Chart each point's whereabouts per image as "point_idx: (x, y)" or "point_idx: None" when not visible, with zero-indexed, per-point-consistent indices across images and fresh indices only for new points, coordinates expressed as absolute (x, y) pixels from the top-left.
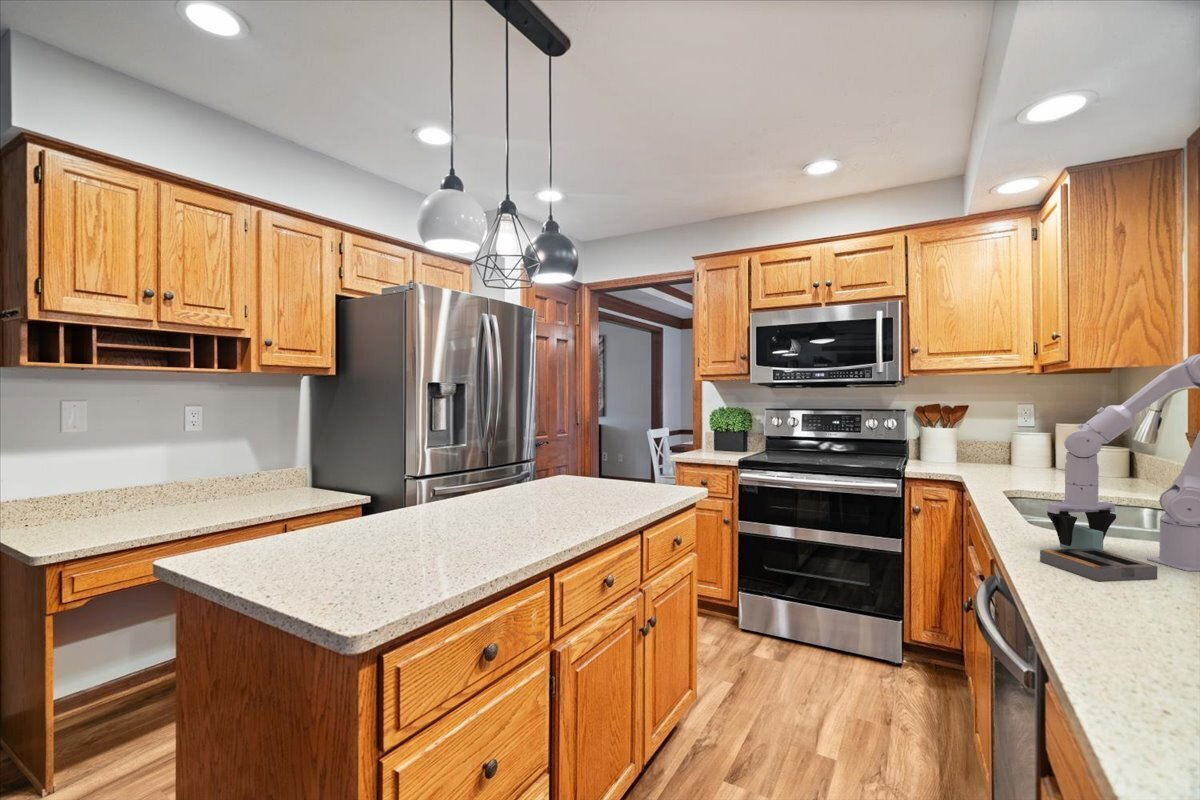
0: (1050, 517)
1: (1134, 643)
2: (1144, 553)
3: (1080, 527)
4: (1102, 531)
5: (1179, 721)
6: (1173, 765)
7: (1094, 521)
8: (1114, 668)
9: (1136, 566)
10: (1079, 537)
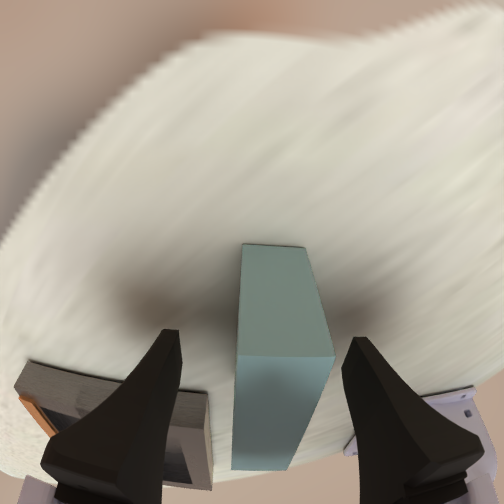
0: (69, 436)
1: (37, 470)
2: (466, 346)
3: (268, 430)
4: (356, 430)
5: (23, 477)
6: (10, 474)
7: (383, 448)
8: (13, 465)
9: (165, 483)
10: (234, 397)
